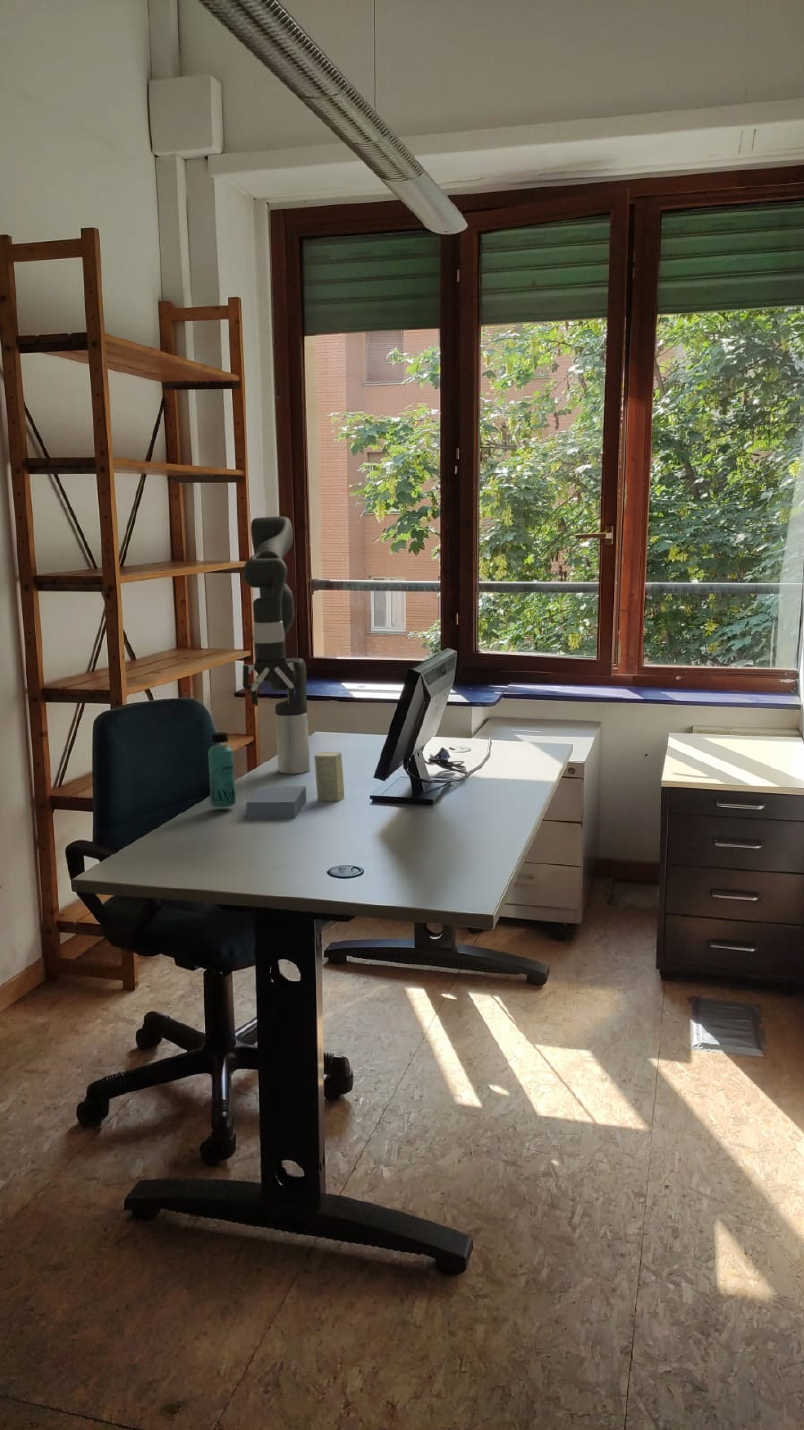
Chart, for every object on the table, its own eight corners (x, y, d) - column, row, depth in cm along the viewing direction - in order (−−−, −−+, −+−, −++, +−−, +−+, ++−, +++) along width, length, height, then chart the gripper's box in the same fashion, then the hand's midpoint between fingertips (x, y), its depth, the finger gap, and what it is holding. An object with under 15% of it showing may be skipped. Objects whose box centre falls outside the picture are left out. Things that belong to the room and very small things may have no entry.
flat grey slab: (261, 803, 276) (260, 786, 276) (306, 802, 275) (305, 786, 274) (247, 820, 261) (246, 802, 260) (295, 819, 260) (294, 802, 259)
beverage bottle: (205, 811, 268) (200, 734, 264) (221, 805, 274) (216, 729, 270) (226, 814, 265) (221, 736, 261) (242, 807, 271) (237, 731, 267)
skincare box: (344, 797, 278) (342, 752, 276) (338, 801, 274) (336, 756, 271) (322, 796, 280) (320, 751, 277) (316, 800, 275) (313, 755, 273)
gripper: (295, 636, 266) (298, 699, 270) (238, 640, 263) (242, 703, 266) (300, 639, 259) (303, 704, 262) (241, 643, 256) (246, 708, 259)
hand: (272, 704), depth 264 cm, fingers open, 8 cm apart
